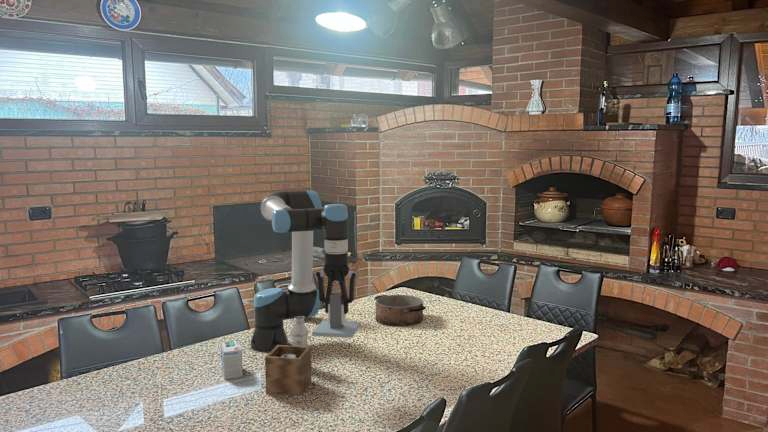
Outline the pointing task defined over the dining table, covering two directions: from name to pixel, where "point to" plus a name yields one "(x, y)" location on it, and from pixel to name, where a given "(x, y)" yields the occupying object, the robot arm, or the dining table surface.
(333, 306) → the lid
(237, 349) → the light bulb box
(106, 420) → the dining table surface
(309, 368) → the crate
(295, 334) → the plastic bottle
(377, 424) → the dining table surface
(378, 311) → the cooking pot
